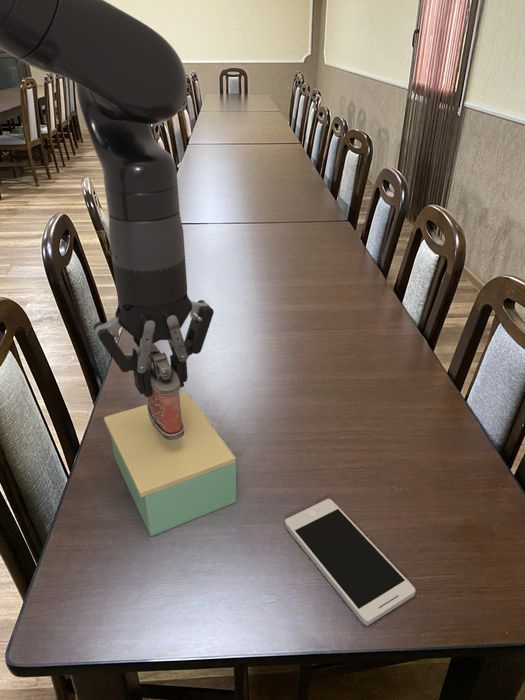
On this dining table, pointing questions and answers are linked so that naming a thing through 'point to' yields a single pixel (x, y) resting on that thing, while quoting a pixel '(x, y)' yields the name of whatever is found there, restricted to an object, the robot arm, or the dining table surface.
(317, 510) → the smartphone
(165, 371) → the lighter
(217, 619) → the dining table surface
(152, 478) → the lunchbox lid
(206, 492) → the box
